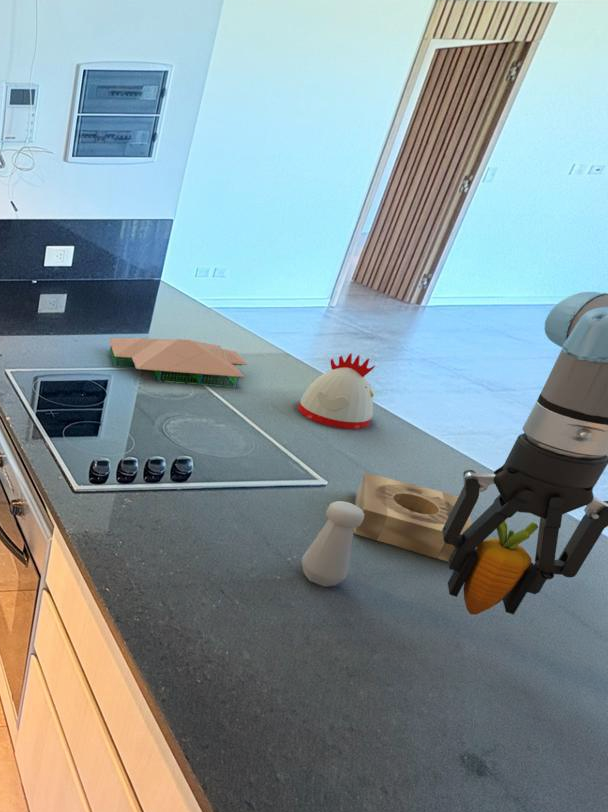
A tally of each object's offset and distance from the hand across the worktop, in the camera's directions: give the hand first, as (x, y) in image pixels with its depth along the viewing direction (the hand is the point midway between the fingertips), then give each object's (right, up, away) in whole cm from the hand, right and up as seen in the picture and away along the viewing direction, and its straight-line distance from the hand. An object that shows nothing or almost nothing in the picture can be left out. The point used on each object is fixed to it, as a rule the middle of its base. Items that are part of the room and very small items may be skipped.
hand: (479, 597), depth 81 cm
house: (+1, +37, +88) cm, 95 cm away
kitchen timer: (+26, +24, +62) cm, 71 cm away
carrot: (0, -3, +1) cm, 3 cm away
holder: (+10, +5, +24) cm, 26 cm away
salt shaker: (-12, -1, +13) cm, 18 cm away
